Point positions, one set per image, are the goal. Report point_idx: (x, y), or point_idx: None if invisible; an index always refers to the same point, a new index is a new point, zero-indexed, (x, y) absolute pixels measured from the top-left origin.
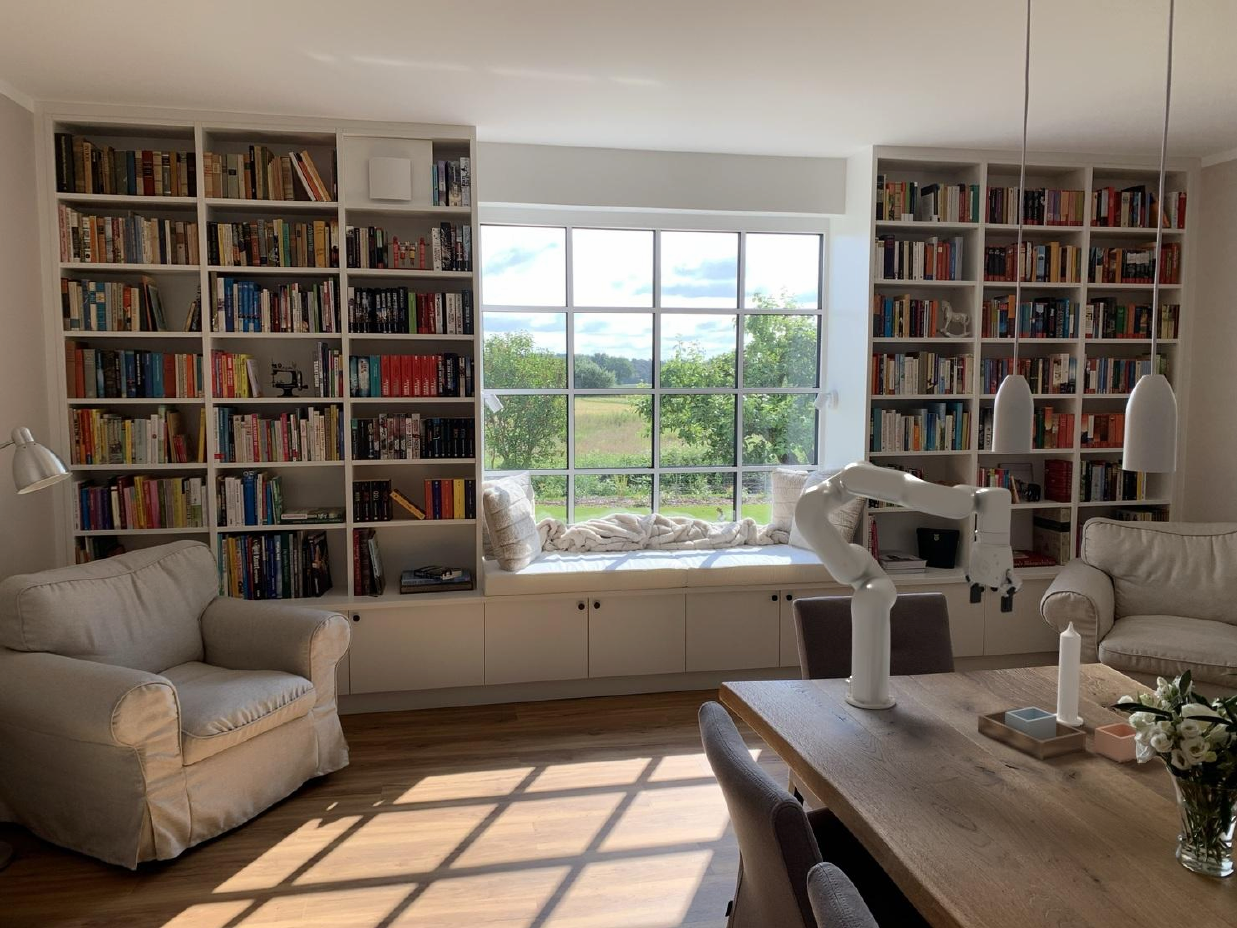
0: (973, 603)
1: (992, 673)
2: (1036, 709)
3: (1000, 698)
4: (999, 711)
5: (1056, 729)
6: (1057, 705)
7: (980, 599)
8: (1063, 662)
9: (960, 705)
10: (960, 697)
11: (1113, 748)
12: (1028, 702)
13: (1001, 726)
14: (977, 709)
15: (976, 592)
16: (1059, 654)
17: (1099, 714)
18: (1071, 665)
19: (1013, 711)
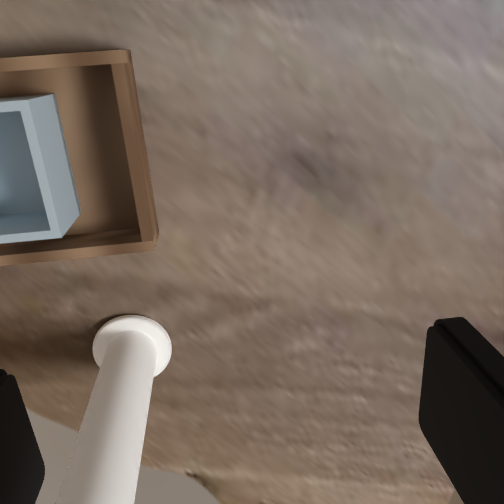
0: (432, 342)
1: None
2: (40, 231)
3: (330, 305)
4: (135, 152)
5: (13, 246)
6: (142, 354)
7: (433, 440)
8: (89, 460)
9: (334, 161)
10: (385, 208)
11: None
12: (277, 349)
13: (12, 58)
14: (288, 187)
15: (488, 462)
16: (119, 485)
17: (151, 439)
18: (67, 468)
19: (29, 135)
